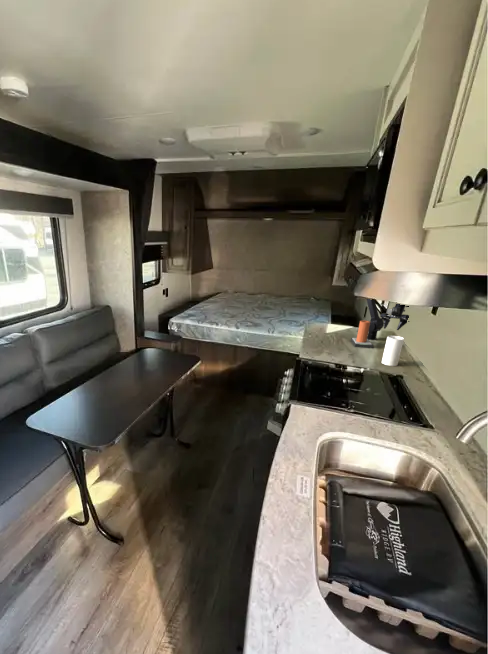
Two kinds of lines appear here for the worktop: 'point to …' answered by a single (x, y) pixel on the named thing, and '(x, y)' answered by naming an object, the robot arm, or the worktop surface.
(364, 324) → the orange cylinder
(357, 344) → the scale
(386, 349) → the cup
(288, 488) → the worktop surface
